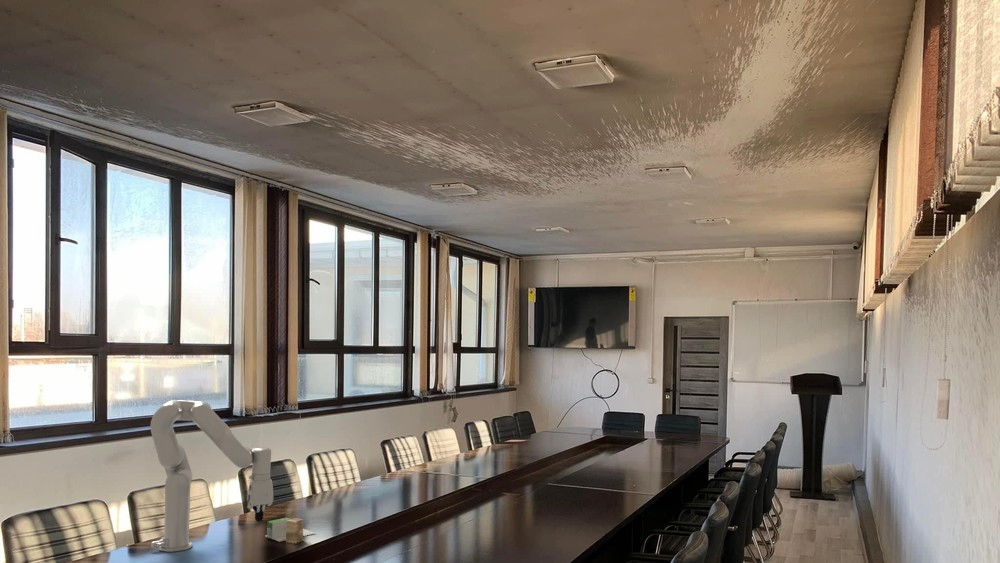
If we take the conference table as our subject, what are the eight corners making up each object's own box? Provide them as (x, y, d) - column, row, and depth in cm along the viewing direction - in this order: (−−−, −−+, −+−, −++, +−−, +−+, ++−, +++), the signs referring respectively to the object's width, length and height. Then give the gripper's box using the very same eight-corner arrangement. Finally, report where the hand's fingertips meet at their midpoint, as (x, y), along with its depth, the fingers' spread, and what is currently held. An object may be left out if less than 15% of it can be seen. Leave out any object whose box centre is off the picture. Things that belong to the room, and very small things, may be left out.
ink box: (266, 537, 323) (292, 531, 334) (271, 539, 321) (297, 533, 331) (266, 521, 324) (293, 515, 334) (272, 523, 321) (298, 517, 332)
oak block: (294, 543, 316) (295, 521, 317) (285, 542, 318) (286, 520, 319) (303, 540, 320) (303, 519, 321) (294, 539, 323) (294, 518, 323)
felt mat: (279, 541, 319) (279, 540, 319) (265, 536, 327) (265, 535, 327) (315, 534, 331) (316, 533, 331) (301, 529, 340) (301, 528, 340)
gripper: (249, 480, 313) (246, 525, 311) (281, 476, 323) (279, 519, 322) (240, 478, 318) (238, 522, 316) (272, 474, 329) (270, 516, 327)
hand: (258, 520), depth 319 cm, fingers closed
